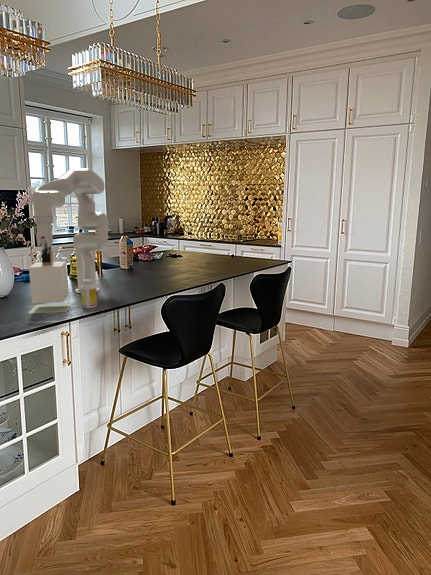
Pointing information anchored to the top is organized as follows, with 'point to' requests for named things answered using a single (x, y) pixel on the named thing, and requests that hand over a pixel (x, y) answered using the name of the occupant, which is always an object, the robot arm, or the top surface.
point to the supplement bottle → (88, 294)
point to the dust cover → (48, 281)
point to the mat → (50, 308)
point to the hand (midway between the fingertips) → (47, 261)
